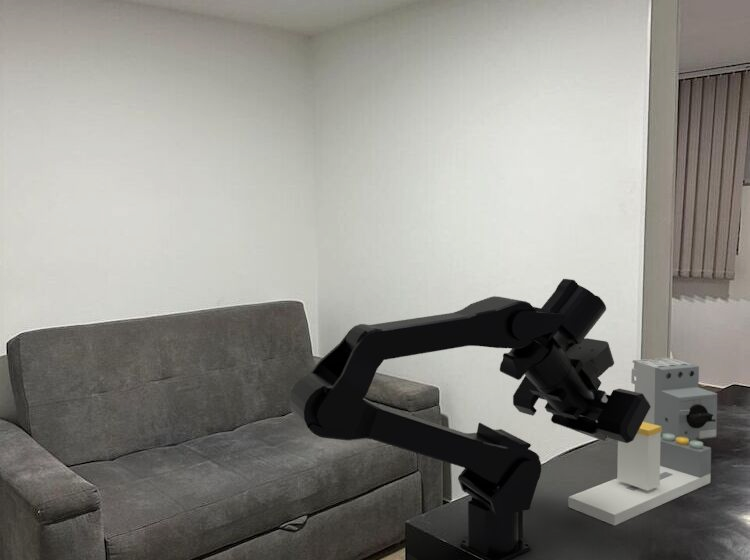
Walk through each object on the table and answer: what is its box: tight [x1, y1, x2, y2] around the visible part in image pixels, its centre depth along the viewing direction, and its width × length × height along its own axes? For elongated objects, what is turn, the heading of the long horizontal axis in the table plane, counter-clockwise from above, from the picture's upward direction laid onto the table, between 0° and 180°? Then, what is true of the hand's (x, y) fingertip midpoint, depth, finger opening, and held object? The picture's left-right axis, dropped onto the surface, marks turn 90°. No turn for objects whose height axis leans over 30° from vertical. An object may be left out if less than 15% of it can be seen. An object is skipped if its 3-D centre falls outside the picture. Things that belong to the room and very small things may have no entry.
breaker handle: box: [616, 422, 662, 491], centre depth 101 cm, size 3×5×9 cm, turn 36°
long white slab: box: [567, 433, 712, 526], centre depth 102 cm, size 24×8×6 cm, turn 126°
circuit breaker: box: [631, 357, 718, 442], centre depth 120 cm, size 8×14×15 cm, turn 15°
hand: (604, 437), depth 96 cm, fingers closed
